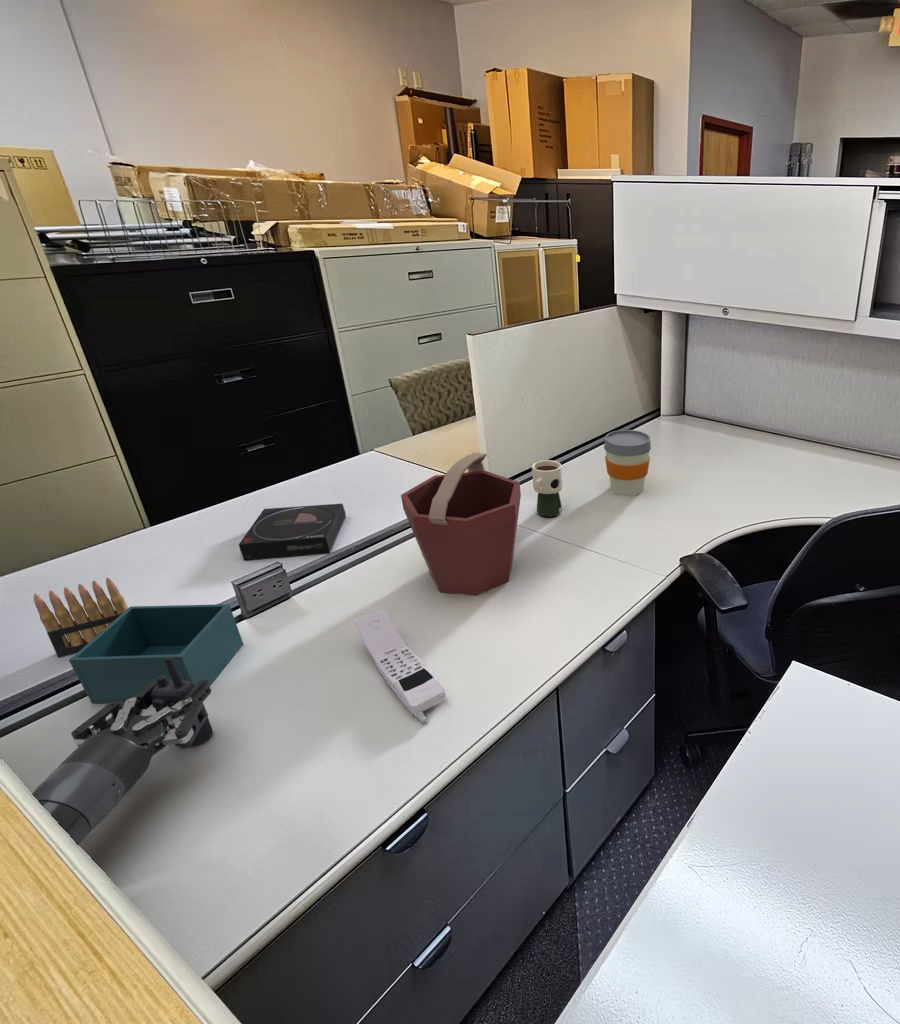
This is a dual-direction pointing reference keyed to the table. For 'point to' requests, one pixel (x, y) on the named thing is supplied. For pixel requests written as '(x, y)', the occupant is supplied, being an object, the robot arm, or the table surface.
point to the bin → (156, 649)
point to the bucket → (465, 526)
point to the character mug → (547, 486)
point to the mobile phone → (399, 663)
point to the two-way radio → (176, 697)
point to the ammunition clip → (79, 616)
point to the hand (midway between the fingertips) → (183, 684)
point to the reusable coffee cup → (627, 460)
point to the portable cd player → (293, 532)
